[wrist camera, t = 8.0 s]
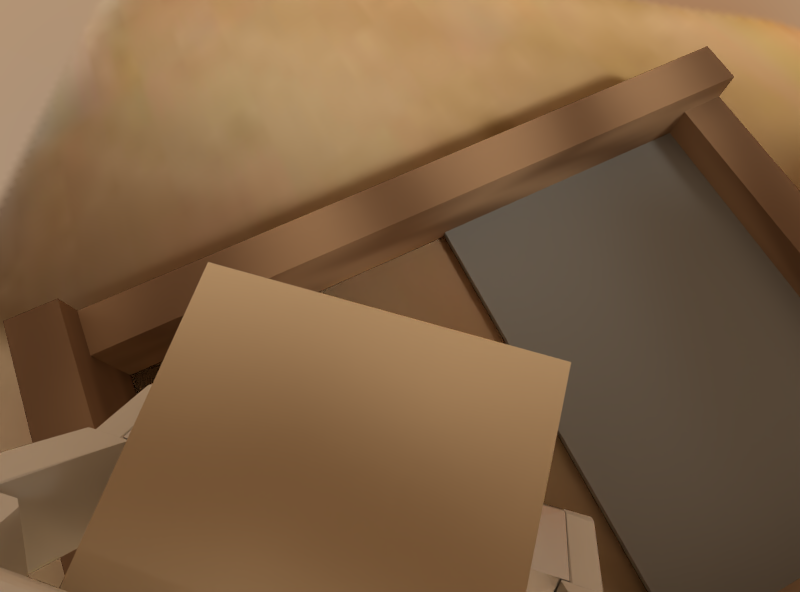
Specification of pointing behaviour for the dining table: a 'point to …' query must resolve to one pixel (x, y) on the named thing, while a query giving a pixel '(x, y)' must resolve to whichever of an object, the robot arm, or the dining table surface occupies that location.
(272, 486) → the tan wooden block
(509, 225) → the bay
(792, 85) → the dining table surface
